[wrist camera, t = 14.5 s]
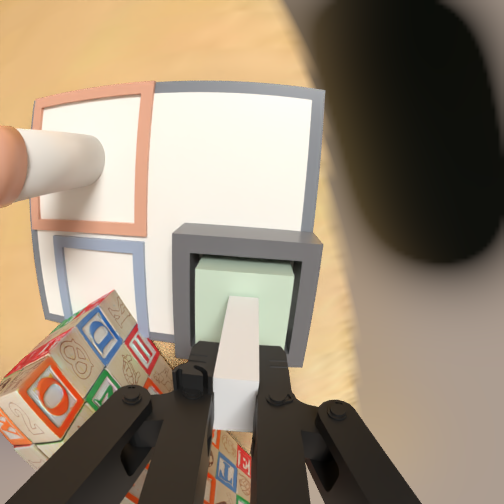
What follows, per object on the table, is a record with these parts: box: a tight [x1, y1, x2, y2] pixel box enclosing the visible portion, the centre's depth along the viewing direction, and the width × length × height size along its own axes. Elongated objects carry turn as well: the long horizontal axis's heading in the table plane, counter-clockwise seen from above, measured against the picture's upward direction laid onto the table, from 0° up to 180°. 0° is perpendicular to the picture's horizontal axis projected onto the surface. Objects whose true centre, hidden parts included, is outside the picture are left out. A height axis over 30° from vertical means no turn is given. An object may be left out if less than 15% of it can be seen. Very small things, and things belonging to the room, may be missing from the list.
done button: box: [195, 254, 294, 350], centre depth 17 cm, size 5×5×3 cm
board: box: [30, 81, 325, 343], centre depth 19 cm, size 18×21×1 cm
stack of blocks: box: [0, 290, 251, 504], centre depth 17 cm, size 21×6×12 cm, turn 28°
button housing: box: [172, 223, 323, 367], centre depth 18 cm, size 8×8×3 cm
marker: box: [0, 126, 105, 208], centre depth 13 cm, size 4×4×10 cm
